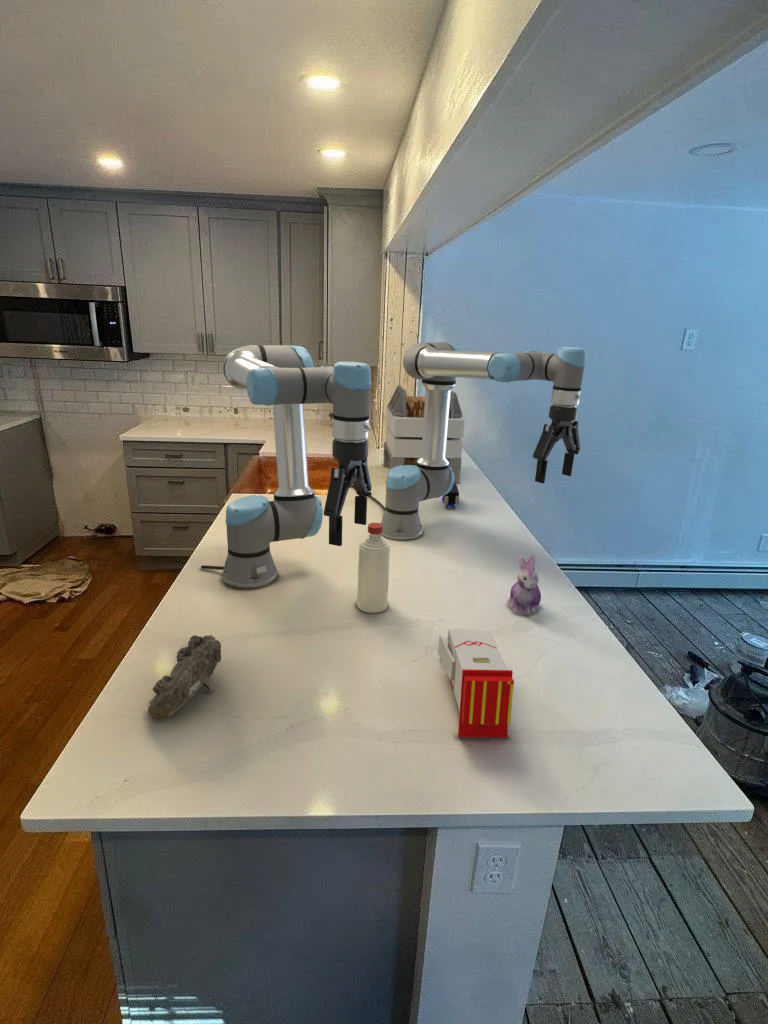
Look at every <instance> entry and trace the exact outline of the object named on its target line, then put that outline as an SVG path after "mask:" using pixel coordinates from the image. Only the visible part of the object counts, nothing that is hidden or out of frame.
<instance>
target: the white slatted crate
mask: <svg viewBox="0 0 768 1024" xmlns="http://www.w3.org/2000/svg"><path fill="white" fill-rule="evenodd" d="M407 394H408V393H407V390H406V389H404V388H403V387H402V385H399V384H398V385H397V386H396V388H395V390H394V392H393V394H392V395H391V398H390V400H389V402H388V404H387V405H386V413H385V414H386V415H385V423H386V428H385V438H384V442H383V466H384V467H388V468H389V470H390V469H392V468H394V467H396V466H401V465H404V466H405V465H413V466H416V461H417V459H418V458H420V457H421V450H422V435H423V420H424V405H425V396H415V395H414V396H413V395H412V396H411V395H407ZM464 429H465V419H464V418H463V411H462V408H461V405H460V402H459V398H458V395H457V392H455V391H453V390H451V393H450V405H449V417H448V429H447V441H446V453H445V458H446V459H447V461H448V462H449V466H450V467H451V469H452V473H454V483H455V484H459V483H461V472H462V461H463V460H462V453H463V442H464V441H463V440H462V439H463V438H464V431H465V430H464Z"/></svg>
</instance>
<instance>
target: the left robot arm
mask: <svg viewBox="0 0 768 1024" xmlns="http://www.w3.org/2000/svg"><path fill="white" fill-rule="evenodd" d="M222 372H223V375H224V378H225V380H226V381H227V382H228V383H229V384H230V386H232V387H234V388H236V389H238V390H245V391H246V392H247V396H248V398H249V399H248V400H249V401H250V403H251V404H253V405H256V406H267V407H270V406H272V416H273V428H274V429H273V430H274V445H275V458H276V473H277V486H278V487H277V489H276V490H275V491H274V492H273V500H269V498H268V497H266V496H265V495H255V494H253V495H247V496H243V497H239V498H236V499H234V500H233V501H231V502H230V503H229V504H228V505H227V506H226V509H225V524H226V541H227V554H226V555H227V556H226V559H225V561H224V566H223V565H222V566H221V565H205V564H202V565H201V566H200V569H203V570H219V571H222V581H223V583H224V584H226V585H227V586H229V587H231V588H235V589H241V590H242V589H243V590H251V589H258V588H263V587H266V586H268V585H270V584H272V583H274V582H275V581H276V579H277V578H278V569H277V566H276V563H275V561H274V558H273V555H272V554H271V543H275V542H276V543H277V542H283V541H290V540H297V539H301V540H303V539H306V538H311V537H315V536H316V535H317V534H318V533H319V531H320V530H321V527H322V524H323V518H324V517H328V545H332V546H336V547H342V545H343V517H344V516H343V515H341V514H342V511H343V508H344V505H345V501H346V498H347V495H348V492H349V489H351V488H353V487H352V485H353V486H354V488H353V489H354V491H355V494H356V495H355V496H354V514H353V515H354V516H353V518H354V519H353V520H354V524H357V525H362V526H366V525H367V520H368V519H367V518H368V517H367V516H368V515H367V514H368V513H367V512H368V498H370V497H371V496H372V489H373V488H372V482H371V476H370V473H369V472H370V471H369V467H368V458H369V441H368V438H369V432H370V430H371V429H372V427H371V424H370V410H371V409H370V407H371V388H372V387H371V386H372V380H371V379H372V377H371V367H370V365H369V364H368V363H366V362H359V361H337V362H336V363H334V365H322V366H320V367H315V366H314V363H313V358H312V357H311V354H310V353H309V351H308V350H307V349H306V348H305V347H303V346H300V345H291V344H287V345H286V344H279V345H277V344H276V345H275V344H273V345H271V344H270V345H267V344H265V345H264V344H261V345H259V344H249V345H244V346H241V347H237V348H236V349H233V350H232V351H230V352H229V353H228V354H227V355H226V356H225V358H224V361H223V364H222ZM311 404H312V405H313V404H332V427H331V428H332V430H331V431H332V432H331V434H332V435H331V436H332V438H334V439H333V440H332V448H331V449H332V450H331V451H332V452H331V454H332V458H334V459H336V460H337V461H338V466H337V467H332V468H331V469H330V480H329V484H328V490H327V494H326V498H325V505H324V509H323V505H322V500H321V498H320V497H319V496H317V495H315V490H314V489H313V488H312V487H310V486H309V473H308V472H309V471H308V470H309V468H308V454H307V452H308V451H307V437H306V436H307V435H306V423H305V419H306V418H305V406H304V405H311ZM323 516H324V517H323Z"/></svg>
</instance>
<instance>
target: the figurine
mask: <svg viewBox="0 0 768 1024" xmlns="http://www.w3.org/2000/svg"><path fill="white" fill-rule="evenodd" d="M535 563H536V555H535V554H532V555H530V557H529V559H528V561H526V560H525V558H524V556H523V555H519V557H518V564H519V571H518V573H517V578H516V581H517V582H515V583H514V584H513V585H512V586H511V588H510V593H509V602H508V603H509V607H510V608H511V609H512V610H513V613H515V614H518V615H524V616H529V615H530V614H534V613H536V612H537V611H538V609H539V606H540V603H541V600H542V594H541V589H540V588H539V585H538V583H539V575H538V573H537V571H536V567H535V565H536V564H535Z"/></svg>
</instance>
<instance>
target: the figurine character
mask: <svg viewBox="0 0 768 1024" xmlns="http://www.w3.org/2000/svg"><path fill="white" fill-rule="evenodd" d="M441 501H442V504H443V505H445V508H446V509H449V507H452V509H456V506H459V504H460V491H459V489H458V486H457V483H454V484H453V487H452V489H451V490H450V491H449V492H448V493H447V494H445V495H443V496H441Z"/></svg>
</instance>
